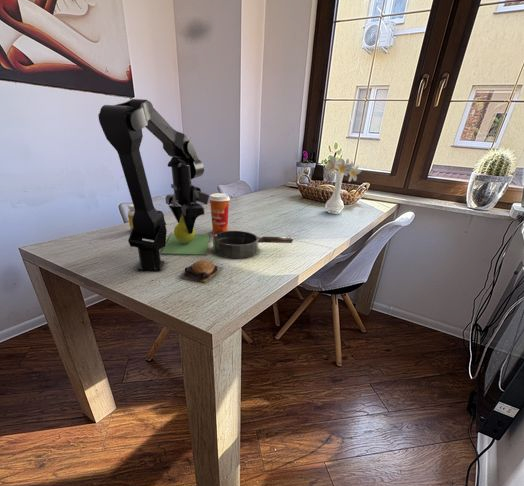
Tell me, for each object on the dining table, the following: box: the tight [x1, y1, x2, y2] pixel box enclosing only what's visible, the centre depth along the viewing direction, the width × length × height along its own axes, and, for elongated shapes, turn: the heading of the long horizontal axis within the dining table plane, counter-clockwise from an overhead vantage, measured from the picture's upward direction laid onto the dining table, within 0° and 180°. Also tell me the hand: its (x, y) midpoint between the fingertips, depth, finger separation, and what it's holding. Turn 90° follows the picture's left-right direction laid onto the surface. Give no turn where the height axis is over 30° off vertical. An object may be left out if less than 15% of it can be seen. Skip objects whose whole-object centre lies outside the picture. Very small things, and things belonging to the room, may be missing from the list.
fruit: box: [173, 217, 196, 243], centre depth 105 cm, size 7×7×12 cm
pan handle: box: [256, 236, 294, 244], centre depth 105 cm, size 13×2×2 cm, turn 94°
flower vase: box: [324, 156, 362, 215], centre depth 152 cm, size 13×18×25 cm
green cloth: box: [160, 233, 210, 256], centre depth 109 cm, size 20×14×1 cm
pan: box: [212, 230, 259, 259], centre depth 105 cm, size 15×15×4 cm
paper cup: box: [208, 192, 231, 235], centre depth 118 cm, size 8×8×14 cm
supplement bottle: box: [127, 203, 135, 232], centre depth 115 cm, size 5×5×10 cm
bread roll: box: [181, 259, 221, 283], centre depth 89 cm, size 11×8×4 cm
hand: (186, 230), depth 106 cm, fingers closed on fruit, 7 cm apart
